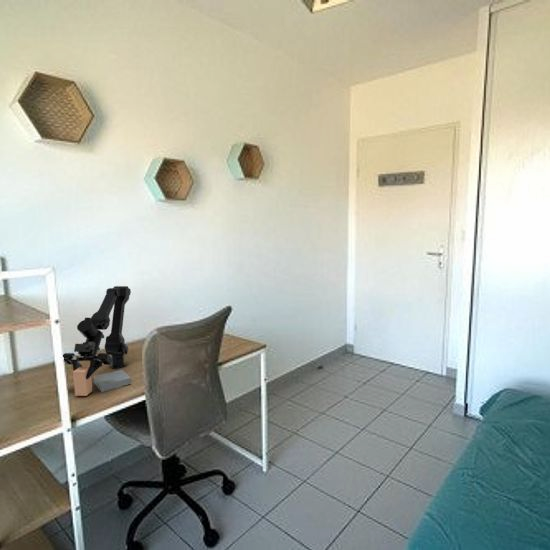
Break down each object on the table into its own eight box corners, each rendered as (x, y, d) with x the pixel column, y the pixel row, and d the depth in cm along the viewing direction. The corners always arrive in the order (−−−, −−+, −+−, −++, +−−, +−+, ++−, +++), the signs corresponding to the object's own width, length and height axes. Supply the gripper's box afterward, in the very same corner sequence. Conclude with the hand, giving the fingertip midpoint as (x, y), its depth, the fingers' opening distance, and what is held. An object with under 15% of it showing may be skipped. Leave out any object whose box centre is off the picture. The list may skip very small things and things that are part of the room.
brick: (75, 395, 153) (72, 371, 152) (81, 390, 158) (79, 367, 156) (86, 395, 153) (84, 371, 152) (92, 390, 158) (90, 367, 156)
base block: (94, 382, 167) (93, 376, 167) (122, 375, 174) (122, 369, 174) (101, 392, 158) (100, 385, 157) (131, 384, 165) (130, 377, 164)
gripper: (61, 334, 156) (47, 370, 147) (106, 334, 156) (95, 371, 146) (74, 346, 165) (61, 381, 156) (116, 346, 165) (106, 381, 155)
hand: (80, 378), depth 153 cm, fingers closed on brick, 5 cm apart
